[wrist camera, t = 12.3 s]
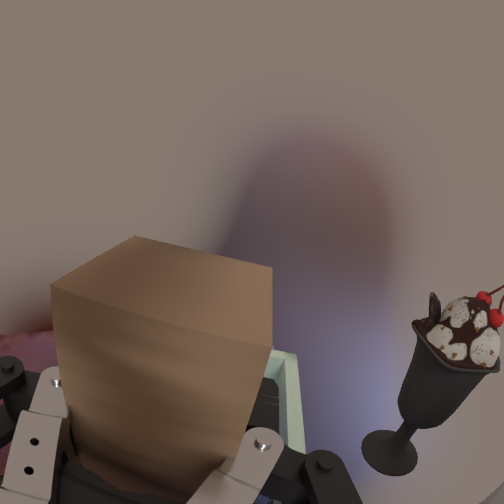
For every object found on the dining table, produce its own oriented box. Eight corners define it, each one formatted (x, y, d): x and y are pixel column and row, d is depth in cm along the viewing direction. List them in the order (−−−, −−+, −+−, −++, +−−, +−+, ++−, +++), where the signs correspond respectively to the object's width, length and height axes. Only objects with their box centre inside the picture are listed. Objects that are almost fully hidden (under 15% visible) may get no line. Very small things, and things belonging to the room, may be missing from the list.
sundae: (436, 479, 15) (554, 296, 10) (359, 488, 15) (488, 275, 10) (412, 424, 21) (494, 261, 17) (343, 422, 21) (424, 237, 17)
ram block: (217, 468, 14) (272, 267, 11) (203, 542, 9) (272, 347, 6) (130, 444, 14) (134, 235, 11) (99, 511, 9) (50, 284, 6)
